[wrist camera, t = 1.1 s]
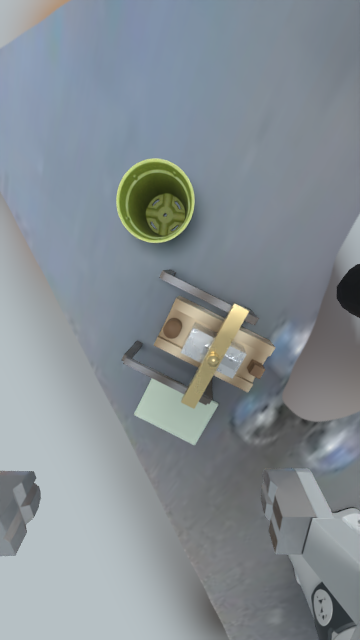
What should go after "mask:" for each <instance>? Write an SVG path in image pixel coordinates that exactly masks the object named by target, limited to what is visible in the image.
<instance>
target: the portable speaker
mask: <svg viewBox="0 0 360 640" xmlns="http://www.w3.org/2000/svg"><path fill="white" fill-rule="evenodd" d="M337 299H338V301H339V302H340V304H341V306H342V307H343V308H344V309H346V310H347V311H349V313H351V314H353V315H355V316H357V317H359V318H360V264H357V265H356V266H355V267H353V268H351V269H350V270H349V271H348V273H347V274H346V275H345V276H344V277H343V279H342V280H341V282H340V283H339V285H338V286H337Z"/></svg>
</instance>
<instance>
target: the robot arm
mask: <svg viewBox="0 0 360 640" xmlns="http://www.w3.org/2000/svg"><path fill="white" fill-rule="evenodd" d="M35 479H36V476H35V473H34V472H32V471H0V556H15V555H16V553H17V551H18V549H19V547H20V545H21V543H22V541H23V539H24V537H25V535H26V533H27V530H26V524H27V523H28V522H29V521H31V520H32V518H34V516H35V514H36V512H37V510H38V507H39V502H40V498H41V497H40V489H39V486H37V485H36V484H35V483H34V481H35ZM263 479H264V483H263V484H262V485H261V502H262V508H263V512H264V515H265V517H266V518H267V519H268V520H269V521H270V525H269V534H270V537H271V541H272V544H273V548H274V551H275V554H288V556H289V558H290V560H291V562H292V564H293V566H294V573H295V577H296V579H297V582H298V583H299V584H300V585H301V587H302V589H303V592H304V595H305V597H306V600H307V603H308V605H309V608H310V610H311V613H312V616H313V618H314V621H315V627H316V630H317V634H318V637H319V640H360V511H359V510H358V509H355V508H350V509H346V510H343V511H340V512H338V513H332V512H331V510H330V508H329V506H328V504H327V502H326V500H325V498H324V496H323V494H322V492H321V490H320V488H319V486H318V484H317V482H316V480H315V478H314V476H313V474H312V472H311V471H310V470H309V469H308V468H295V469H292V468H276V469H264V471H263Z"/></svg>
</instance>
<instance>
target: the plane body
mask: <svg viewBox="0 0 360 640" xmlns="http://www.w3.org/2000/svg"><path fill="white" fill-rule="evenodd" d="M175 273H176V272H174V271H172V270H163V271H162V273H161V275H160V277H159V278H161V279H162V280H164V281H166V282H168V283H170V284H172V285H174V286H176V287H178V288H180V289H182V290H184V291H186V292H188V293H190V294H192V295H194V296H196V297H198V298H200V299H202V300H204V301H206V302H208V303H210V304H212V305H214V306H216V307H218V308H220V309H222V310H224V311H226V312H229V310H230V308H231V306H232V305H231V304H229V303H227V302H225V301H223V300H221V299H219V298H217V297H215V296H213V295H211V294H209V293H207V292H205V291H203V290H201V289H199V288H197V287H194V286H192V285H190V284H188V283H186V282H184V281H182V280H180V279H178V278H176V277H174V276H175ZM244 308H246V307H244ZM246 309H248V308H246ZM248 310H249V313H248V314H247V316H246V318H245V320H244V321H246V322H248V323H250V324H254V325H255V324H256V322H257V321H258V319H259V318H258V317H257V316H256V315H255V314H254V313H253V312H252V311H251V310H250V309H248ZM224 319H225V318H224V317H222V316H220V315H218V314H215V313H213V312H211V311H209V310H207V309H205V308H203V307H201V306H199V305H197V304H195V303H193V302H191V301H189V300H187V299H185V298H183V297H181V296H178V297H177V298H176V300H175V302H174V304H173V306H172V309H171V311H170V313H169V315H168V317H167V319H166V321H165V323H164V325H163V327H162V329H161V331H160V333H159V336H158V337H157V339H156V341H155V343H154V346H156V347H158V348H160V349H162V350H164V351H166V352H168V353H170V354H172V355H174V356H176V357H178V358H180V359H182V360H184V361H186V362H188V363H190V364H192V365H194V366H196V367H199V366H200V364H201V363H200V362H198V361H196V360H194V359H192V358H190V357H188V356H186V355H184V354H182V353H181V350H182V347H183V344H184V342H185V340H186V338H187V336H188V334H189V332H190V330H191V328H192V326H193V325H194V323H195V322H197V323H199V324H201V325H203V326H205V327H207V328H209V329H211V330H213V331H215V332H218V330H219V329H220V327H221V325H222V323H223V321H224ZM233 341H235V342H237V343H239V344H241V345H243V346H244V349H245V351H246V354H247V355H246V356H245V358H244V360H243V362H242V363H241V365H240V367H239V368H238V370H237V372H236V374H235V375H234V377H233V379H232V378H230V377H228V376H226V375H224V374H222V373H220V372H218V371H215V373H214V376H216V377H218V378H220V379H222V380H224V381H226V382H228V383H230V384H232V385H234V386H236V387H238V388H240V389H242V390H244V391H246V392H249V390H250V389H251V387H252V385H253V383H252V382H253V380H254V378H255V377H256V378H258V379H260V377H261V376H262V374H263V372H264V371H265V369H264V367H263V364H264V362H265V360H266V359H267V357H268V356H271V354H272V353H273V351H274V349H275V347H274V345H273V344H272V343H271V342H270V340H268V339H266V338H264V337H262V336H260V335H258V334H256V333H254V332H252V331H250V330H248V329H246V328H244V327H242V326H241V327H240V329H239V330H238V332H237V334H236V336H235V337H234V339H233ZM142 344H143V343H141V342H139V341H136V343H135V344H134V345H133V346H132V347H131V348H130V349H129V350H128V351H127V352H126V353H125V354H124V356H123V358H122V361H124V363H123V364H125V365H127V366H129V367H131V368H133V369H135V370H137V371H139V372H141V373H143V374H145V375H147V376H149V377H151V378H153V379H154V380H156V381H158V382H160V383H162V384H164V385H166V386H168V387H170V388H172V389H174V390H176V391H178V392H180V393H182V394H184V393H185V391H186V390H187V388H188V386H186V385H184V384H182V383H180V382H178V381H176V380H174V379H172V378H170V377H168V376H166V375H164V374H162V373H160V372H158V371H156V370H154V369H152V368H150V367H148V366H146V365H144V364H142V363H140V362H138V361H136V360H134V359H132V358H133V356H134V355H135V354H136V353H137V352H138V350H139V349H140V348H141V346H142ZM212 399H213V394H212V378H211V380H210V382H209V384H208V386H207V387H206V389H205V391H204V393H203V395H202V396H201V398H200V400H199V402H200V403H202V404H204V405H207V404H210V402H211V401H212Z"/></svg>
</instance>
